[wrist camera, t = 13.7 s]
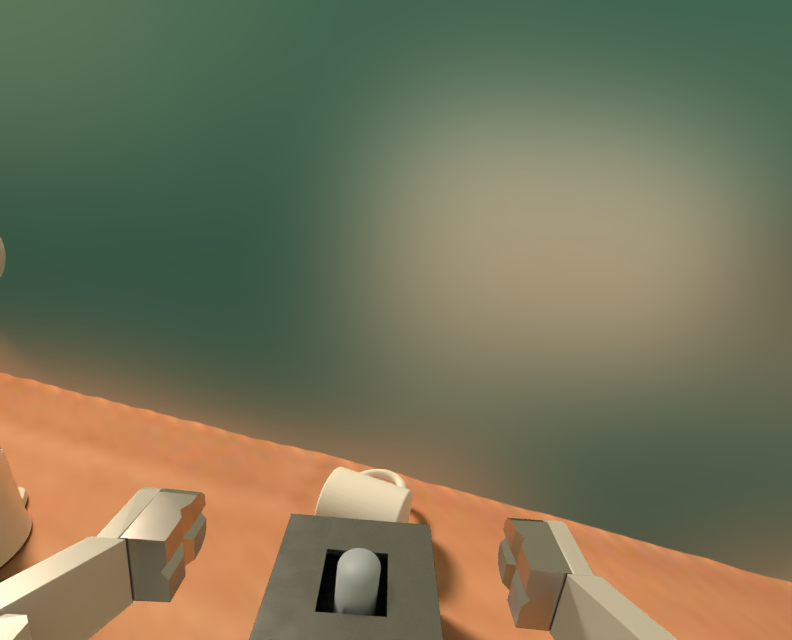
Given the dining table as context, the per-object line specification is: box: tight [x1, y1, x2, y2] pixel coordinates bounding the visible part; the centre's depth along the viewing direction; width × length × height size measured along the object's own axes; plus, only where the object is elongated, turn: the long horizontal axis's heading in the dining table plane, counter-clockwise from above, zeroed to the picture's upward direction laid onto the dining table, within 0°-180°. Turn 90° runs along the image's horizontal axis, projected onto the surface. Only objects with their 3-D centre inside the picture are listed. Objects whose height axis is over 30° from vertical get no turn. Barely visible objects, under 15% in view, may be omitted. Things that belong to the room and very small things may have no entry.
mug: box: [315, 467, 412, 523], centre depth 49 cm, size 12×10×8 cm
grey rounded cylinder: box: [333, 548, 381, 616], centre depth 33 cm, size 4×4×11 cm
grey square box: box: [249, 514, 443, 640], centre depth 33 cm, size 14×13×10 cm
